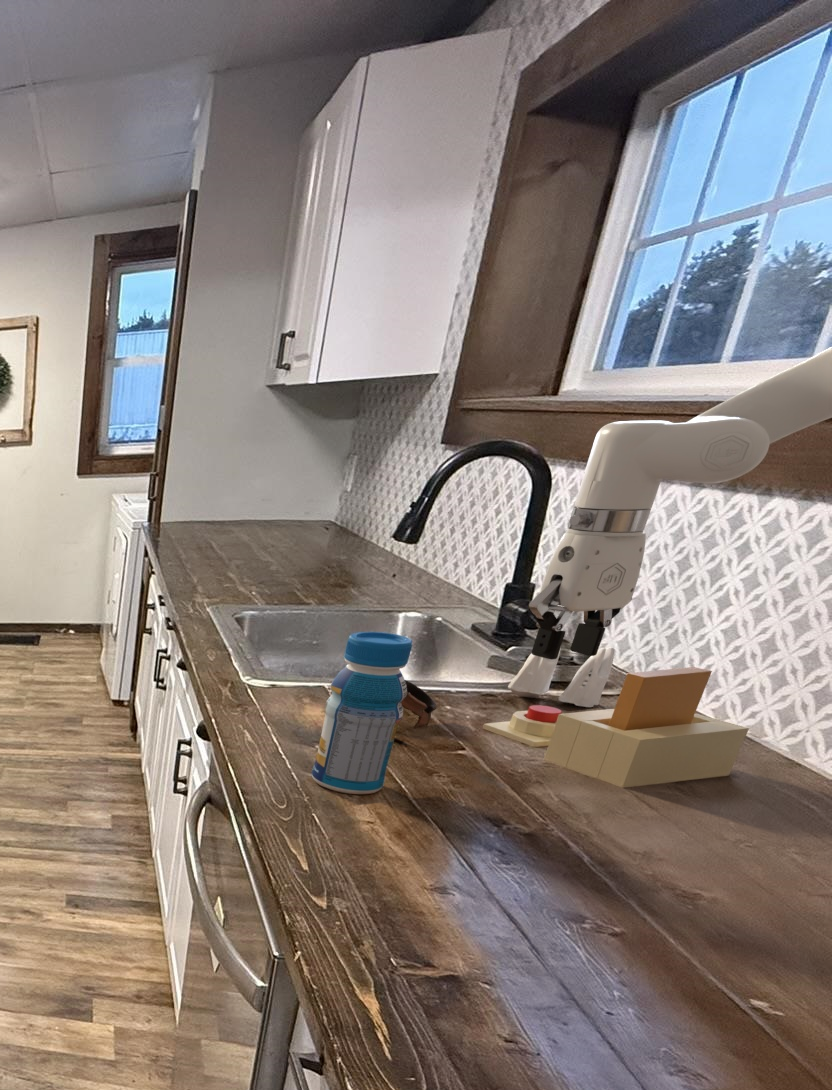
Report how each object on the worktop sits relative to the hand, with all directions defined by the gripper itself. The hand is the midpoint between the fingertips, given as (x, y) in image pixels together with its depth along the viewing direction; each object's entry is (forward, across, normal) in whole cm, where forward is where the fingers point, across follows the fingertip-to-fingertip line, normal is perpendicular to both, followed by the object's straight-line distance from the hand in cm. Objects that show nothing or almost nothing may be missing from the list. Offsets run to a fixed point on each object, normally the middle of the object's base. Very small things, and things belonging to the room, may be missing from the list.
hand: (563, 654), depth 115 cm
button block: (+14, 0, 0) cm, 14 cm away
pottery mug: (+14, -14, +12) cm, 23 cm away
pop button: (+10, 0, 0) cm, 10 cm away
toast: (+12, 0, -13) cm, 18 cm away
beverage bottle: (+14, -36, -6) cm, 39 cm away
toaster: (+14, 0, -13) cm, 19 cm away
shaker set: (+14, +20, +15) cm, 29 cm away
